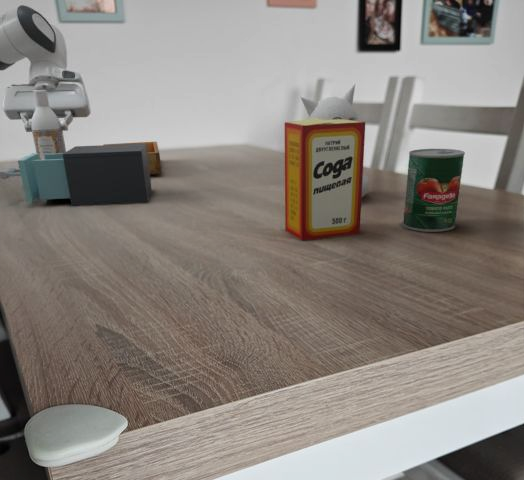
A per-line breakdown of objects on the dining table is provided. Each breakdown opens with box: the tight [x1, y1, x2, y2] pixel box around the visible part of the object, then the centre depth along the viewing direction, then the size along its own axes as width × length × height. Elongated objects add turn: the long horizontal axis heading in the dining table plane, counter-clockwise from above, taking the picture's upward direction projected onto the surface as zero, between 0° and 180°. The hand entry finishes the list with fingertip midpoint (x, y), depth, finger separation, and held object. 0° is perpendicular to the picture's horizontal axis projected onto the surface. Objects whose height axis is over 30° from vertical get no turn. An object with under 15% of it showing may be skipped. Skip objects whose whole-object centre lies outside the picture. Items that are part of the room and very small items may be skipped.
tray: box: [103, 141, 162, 175], centre depth 147 cm, size 31×15×6 cm, turn 11°
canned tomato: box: [402, 148, 466, 233], centre depth 84 cm, size 8×8×11 cm
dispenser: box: [63, 144, 152, 207], centre depth 112 cm, size 15×13×10 cm
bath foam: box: [30, 90, 67, 160], centre depth 134 cm, size 7×7×20 cm
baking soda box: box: [284, 118, 366, 241], centre depth 81 cm, size 10×6×16 cm
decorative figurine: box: [300, 83, 371, 198], centre depth 103 cm, size 15×15×20 cm
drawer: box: [0, 152, 70, 204], centre depth 111 cm, size 18×11×8 cm, turn 96°
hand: (46, 129), depth 133 cm, fingers closed on bath foam, 7 cm apart
